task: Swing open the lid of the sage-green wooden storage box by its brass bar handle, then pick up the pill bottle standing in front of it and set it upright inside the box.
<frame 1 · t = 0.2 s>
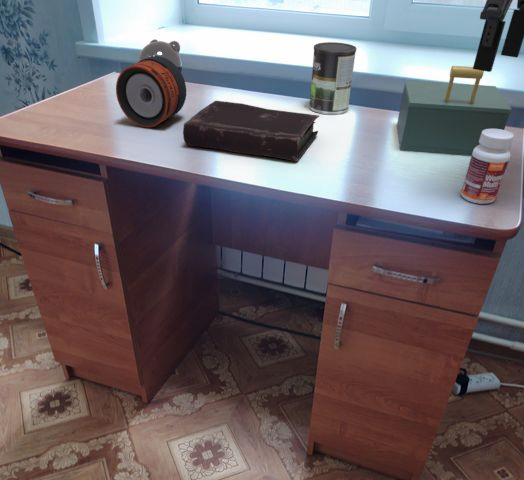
hand: (496, 62, 82), 21 cm above the table, tool pointing down, fingers open, 13 cm apart
coffee can: (328, 109, 131), on the table
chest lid: (458, 79, 106), point 13 cm above the table, hinge at 0.0°
piggy bank: (163, 89, 142), on the table
oil filter: (157, 121, 121), on the table
pill bottle: (477, 198, 92), on the table
diary: (253, 142, 112), on the table
chest: (442, 140, 114), on the table
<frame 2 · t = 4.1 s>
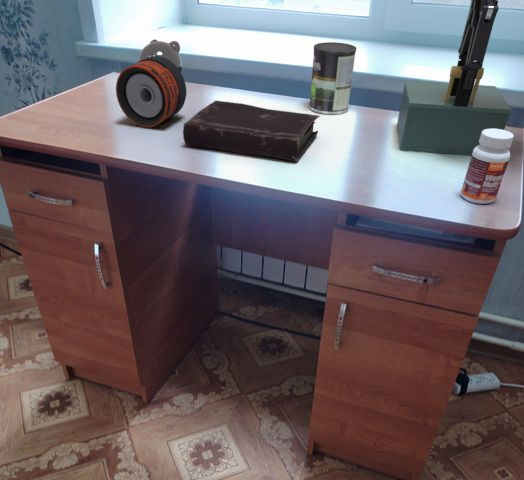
hand: (458, 100, 103), 10 cm above the table, tool pointing down, fingers closed on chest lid, 6 cm apart
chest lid: (458, 79, 106), point 13 cm above the table, hinge at -0.2°, touching chest, gripper
everything else where it was.
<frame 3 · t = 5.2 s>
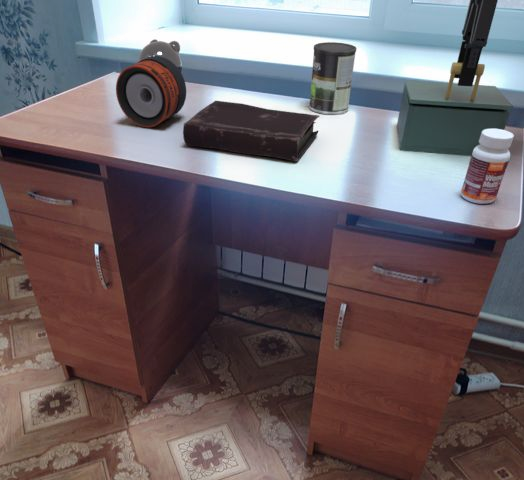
hand: (462, 81, 102), 13 cm above the table, tool pointing down, fingers open, 5 cm apart
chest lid: (459, 77, 106), point 13 cm above the table, hinge at 2.1°, touching gripper
everything else where it was.
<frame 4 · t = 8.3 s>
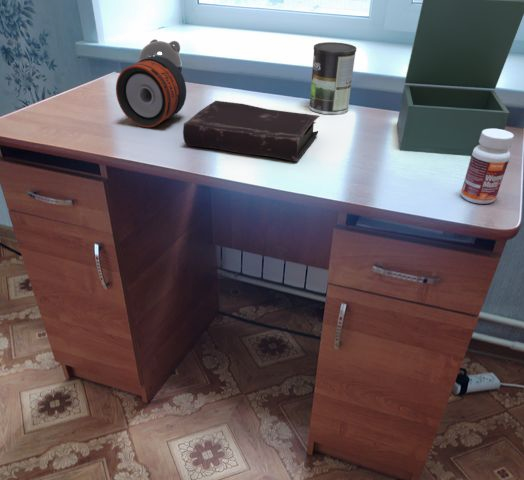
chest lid: (461, 36, 109), point 19 cm above the table, hinge at 71.8°, touching gripper
everything else where it was.
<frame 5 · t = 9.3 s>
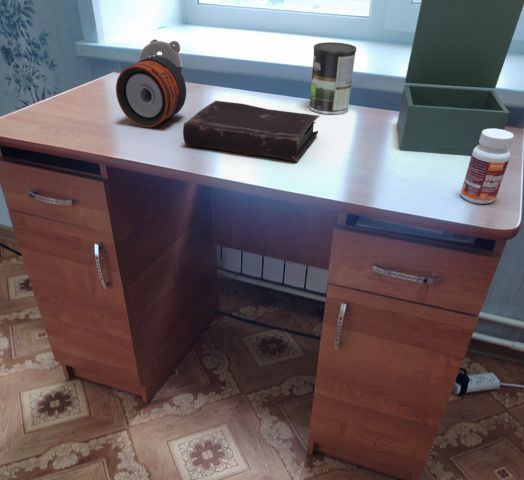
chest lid: (460, 36, 110), point 19 cm above the table, hinge at 80.4°, touching gripper
everything else where it was.
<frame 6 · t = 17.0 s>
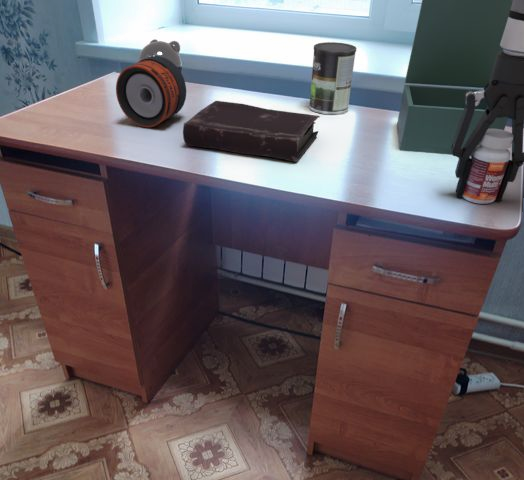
hand: (477, 196, 92), 0 cm above the table, tool pointing down, fingers closed on pill bottle, 6 cm apart
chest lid: (460, 36, 109), point 19 cm above the table, hinge at 76.1°
pill bottle: (477, 198, 92), on the table, touching gripper
everything else where it was.
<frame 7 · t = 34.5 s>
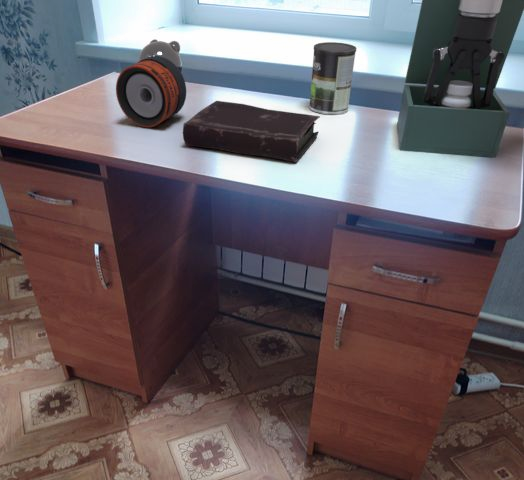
hand: (446, 138, 111), 1 cm above the table, tool pointing down, fingers closed on pill bottle, 6 cm apart
pill bottle: (446, 140, 112), point 1 cm above the table, touching gripper
everything else where it was.
when the fingers open (2 cm above the table, at t = 34.7 s): pill bottle stays where it is, resting on chest.
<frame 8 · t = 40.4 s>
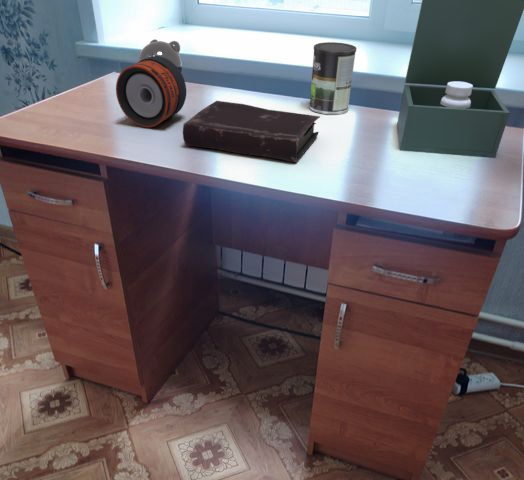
pill bottle: (445, 141, 112), point 1 cm above the table, touching chest
everything else where it was.
at the end: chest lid at +76° (first picture: +0°); pill bottle inside the target area in the chest (3.1 cm from its centre), point 0.8 cm above the chest's base; pill bottle tilted 0° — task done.
